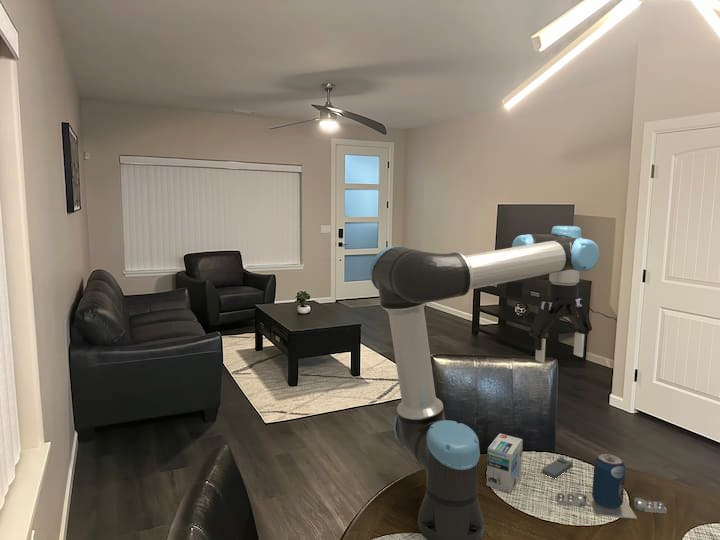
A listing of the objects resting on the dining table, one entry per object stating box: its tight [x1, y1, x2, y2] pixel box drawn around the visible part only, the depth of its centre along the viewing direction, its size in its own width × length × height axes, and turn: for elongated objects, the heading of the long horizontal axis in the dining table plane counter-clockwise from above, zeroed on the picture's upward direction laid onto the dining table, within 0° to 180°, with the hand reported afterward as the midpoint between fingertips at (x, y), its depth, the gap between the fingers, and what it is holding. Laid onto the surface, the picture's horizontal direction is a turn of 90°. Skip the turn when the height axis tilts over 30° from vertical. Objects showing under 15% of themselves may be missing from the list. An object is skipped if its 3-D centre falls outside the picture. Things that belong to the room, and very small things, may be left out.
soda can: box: [591, 451, 626, 510], centre depth 126 cm, size 7×7×12 cm
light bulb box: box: [486, 432, 524, 494], centre depth 137 cm, size 11×7×11 cm, turn 148°
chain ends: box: [555, 492, 668, 520], centre depth 126 cm, size 25×9×2 cm, turn 82°
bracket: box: [541, 456, 574, 480], centre depth 143 cm, size 4×10×2 cm, turn 131°
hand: (559, 358), depth 141 cm, fingers open, 13 cm apart
